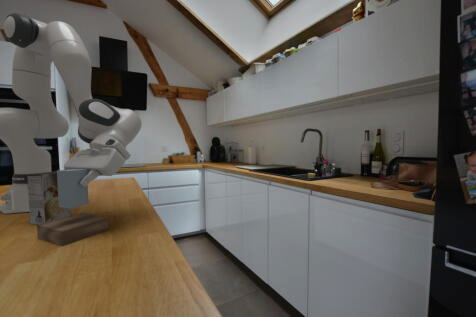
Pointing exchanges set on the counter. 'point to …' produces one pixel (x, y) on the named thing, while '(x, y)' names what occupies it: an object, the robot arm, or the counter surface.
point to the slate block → (71, 188)
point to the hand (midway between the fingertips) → (74, 184)
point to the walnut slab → (72, 228)
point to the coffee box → (44, 198)
